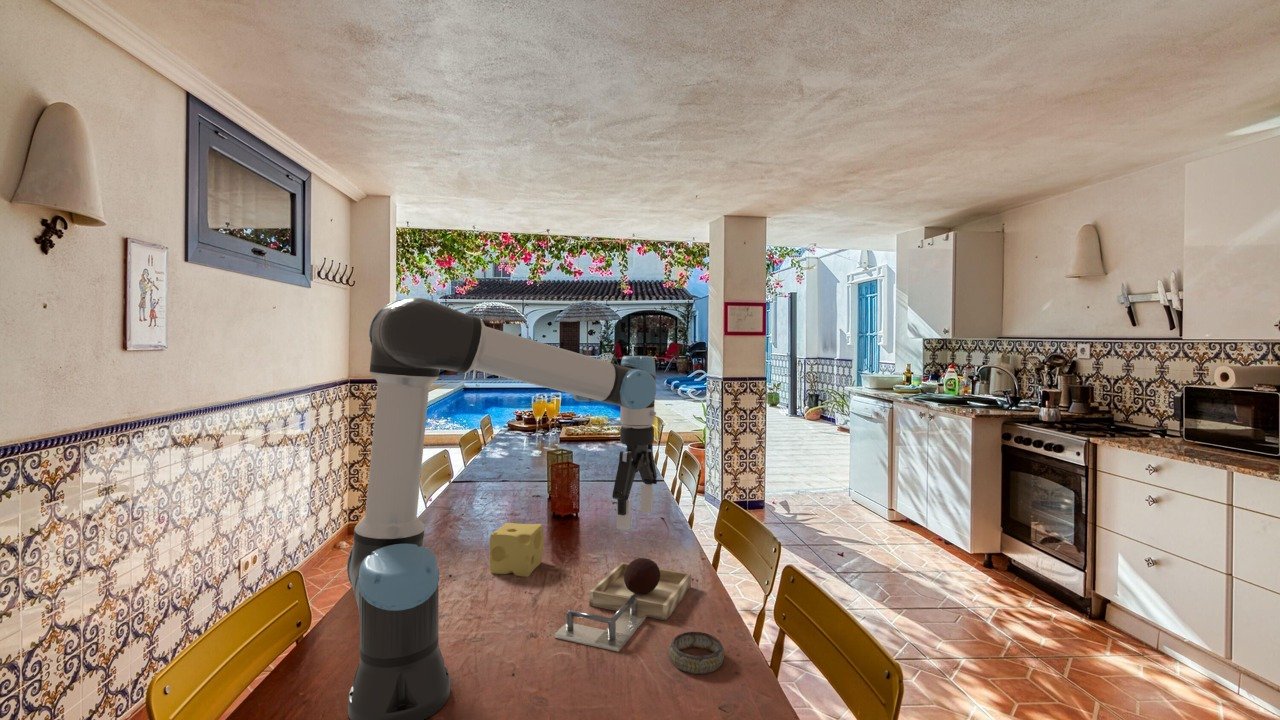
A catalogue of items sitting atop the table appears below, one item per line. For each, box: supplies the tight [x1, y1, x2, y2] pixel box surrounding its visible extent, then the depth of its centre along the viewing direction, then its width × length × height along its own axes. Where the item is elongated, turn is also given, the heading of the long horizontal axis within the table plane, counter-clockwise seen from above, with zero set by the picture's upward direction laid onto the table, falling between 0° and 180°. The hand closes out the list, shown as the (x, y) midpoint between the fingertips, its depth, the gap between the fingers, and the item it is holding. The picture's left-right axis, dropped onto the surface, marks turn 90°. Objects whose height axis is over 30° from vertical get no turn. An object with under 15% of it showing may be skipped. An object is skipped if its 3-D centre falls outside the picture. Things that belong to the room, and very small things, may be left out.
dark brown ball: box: [624, 557, 660, 594], centre depth 133 cm, size 8×9×8 cm
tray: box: [588, 561, 692, 621], centre depth 133 cm, size 18×18×3 cm
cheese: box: [489, 522, 545, 578], centre depth 149 cm, size 10×11×10 cm
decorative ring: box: [668, 631, 726, 675], centre depth 107 cm, size 10×3×10 cm
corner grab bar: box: [554, 595, 648, 653], centre depth 120 cm, size 16×14×5 cm
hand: (635, 520), depth 132 cm, fingers open, 13 cm apart
